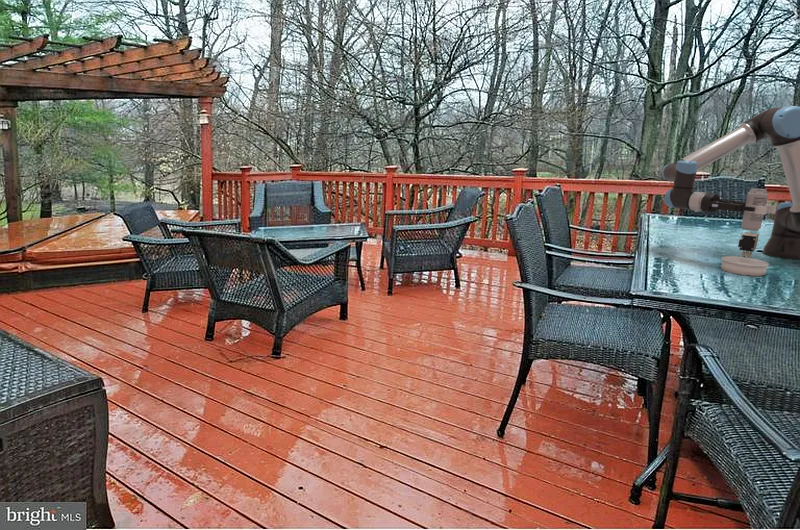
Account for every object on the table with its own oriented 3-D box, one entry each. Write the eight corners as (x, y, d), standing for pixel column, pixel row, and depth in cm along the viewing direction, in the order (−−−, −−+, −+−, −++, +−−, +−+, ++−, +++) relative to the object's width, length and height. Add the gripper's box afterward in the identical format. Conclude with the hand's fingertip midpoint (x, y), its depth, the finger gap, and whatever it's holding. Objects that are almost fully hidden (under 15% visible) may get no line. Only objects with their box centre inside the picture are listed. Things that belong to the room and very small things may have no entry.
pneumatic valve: (754, 258, 211) (760, 230, 208) (750, 263, 203) (756, 234, 200) (738, 256, 215) (744, 228, 212) (734, 261, 206) (739, 232, 203)
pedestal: (752, 267, 197) (754, 257, 196) (776, 277, 183) (778, 266, 182) (712, 265, 199) (714, 255, 198) (732, 275, 184) (734, 264, 183)
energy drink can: (754, 228, 189) (762, 188, 186) (763, 231, 184) (772, 190, 180) (737, 228, 190) (745, 188, 186) (746, 230, 184) (754, 189, 180)
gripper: (716, 210, 205) (780, 218, 186) (689, 213, 196) (755, 222, 177) (719, 192, 203) (785, 198, 184) (693, 193, 194) (759, 201, 175)
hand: (770, 210), depth 180 cm, fingers closed on energy drink can, 6 cm apart
